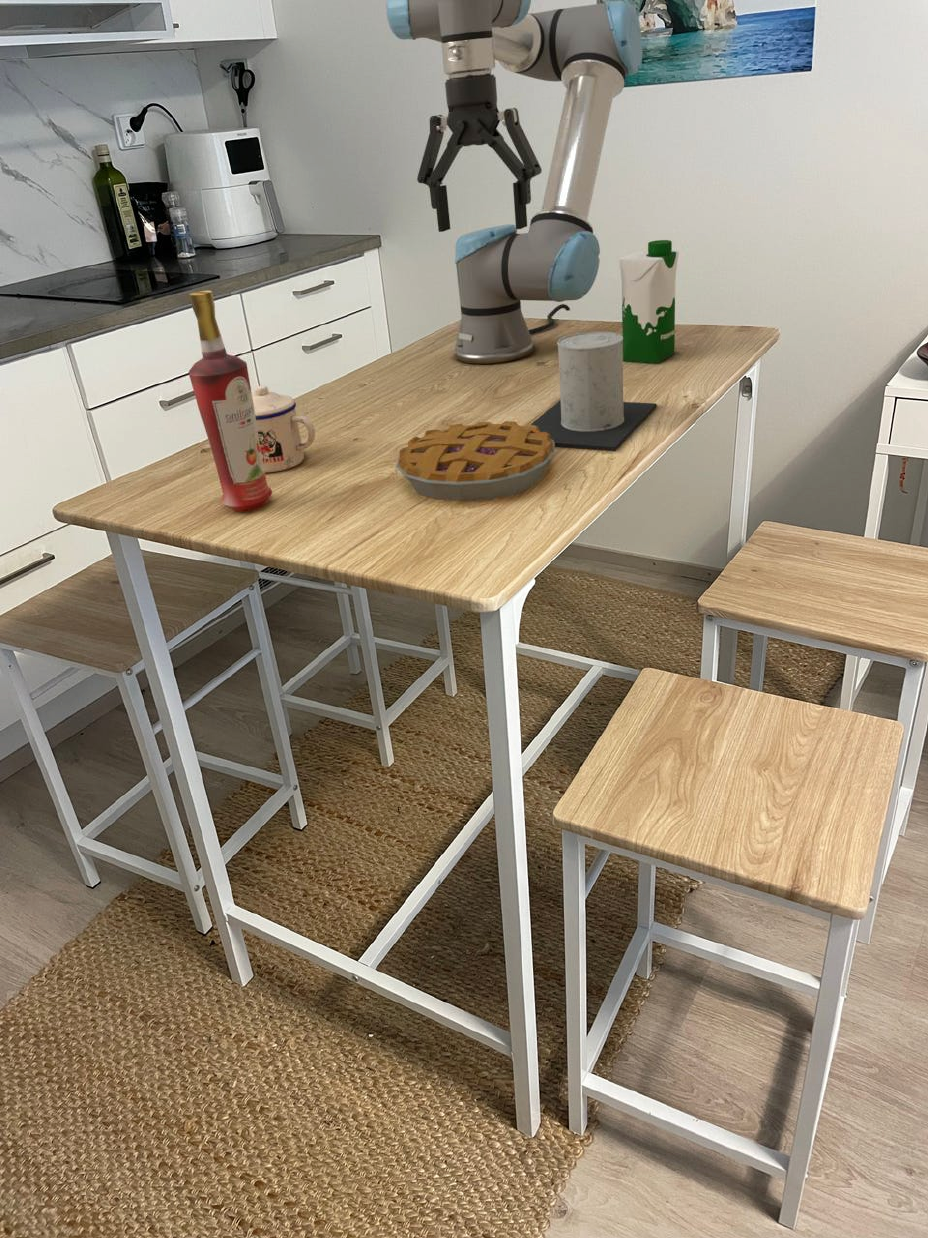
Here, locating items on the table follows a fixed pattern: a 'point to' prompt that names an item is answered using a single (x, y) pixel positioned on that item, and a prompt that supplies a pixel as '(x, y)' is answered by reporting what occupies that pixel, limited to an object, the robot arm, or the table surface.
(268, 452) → the teacup with lid
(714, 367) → the table surface
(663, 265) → the milk carton
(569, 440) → the back mat
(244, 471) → the liquor
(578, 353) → the tin can
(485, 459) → the pie
